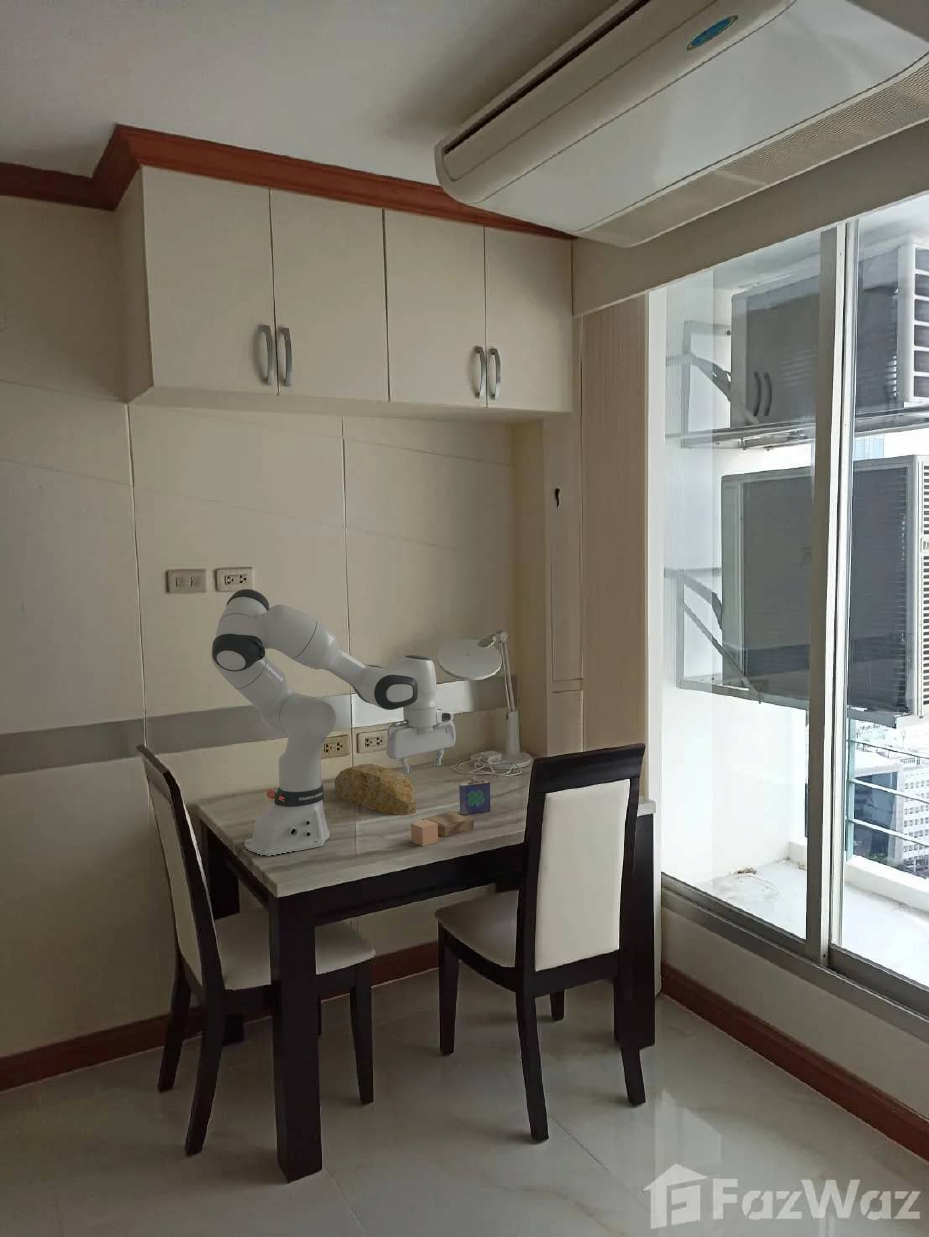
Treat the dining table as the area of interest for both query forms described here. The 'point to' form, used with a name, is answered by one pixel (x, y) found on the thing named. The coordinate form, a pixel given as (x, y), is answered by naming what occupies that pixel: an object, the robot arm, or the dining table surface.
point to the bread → (377, 789)
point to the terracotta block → (424, 832)
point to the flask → (474, 797)
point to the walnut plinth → (451, 823)
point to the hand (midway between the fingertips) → (422, 769)
